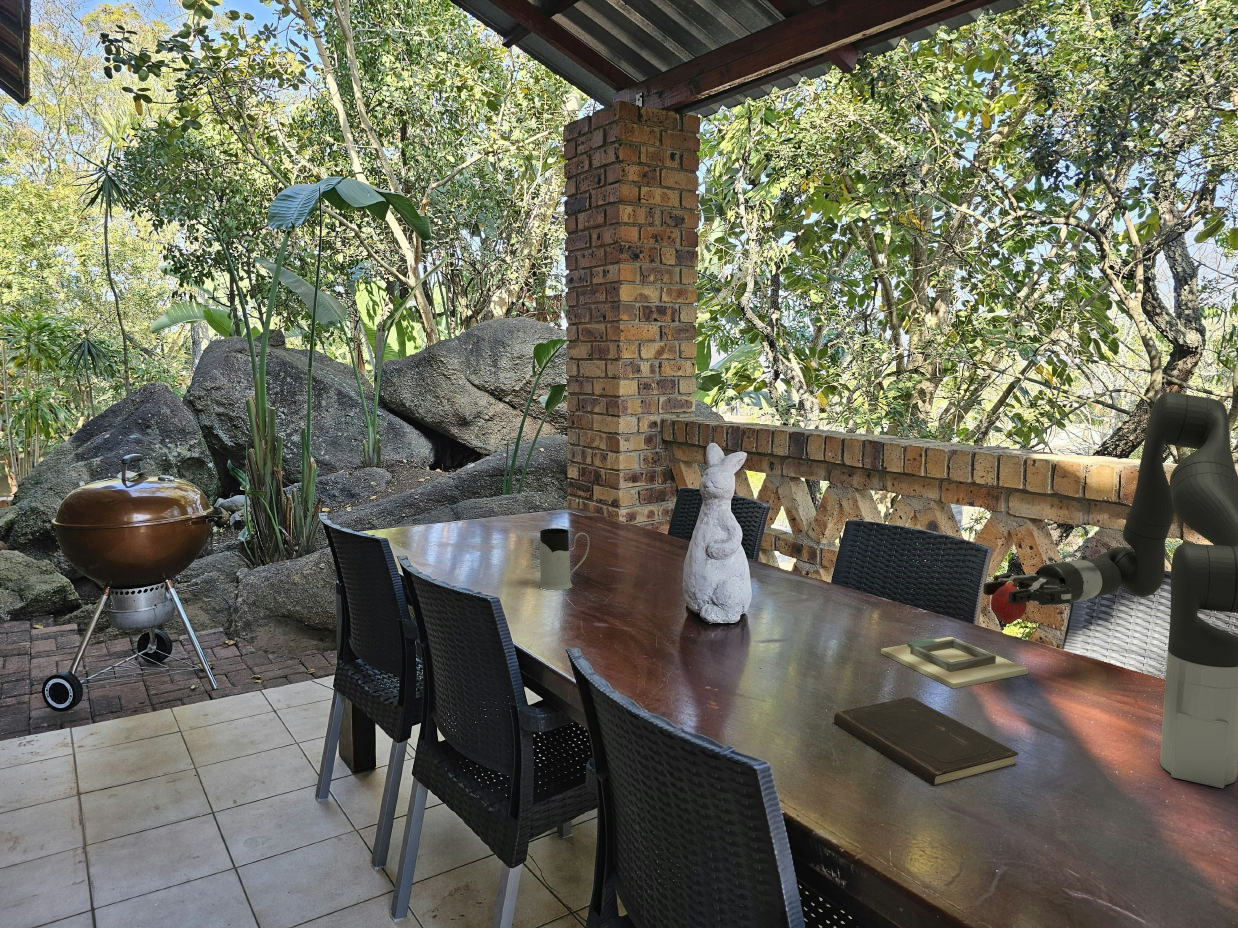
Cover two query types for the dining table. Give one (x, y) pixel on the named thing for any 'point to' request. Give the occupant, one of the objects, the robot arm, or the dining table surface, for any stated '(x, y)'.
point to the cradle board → (953, 662)
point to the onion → (1006, 604)
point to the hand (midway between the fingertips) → (997, 593)
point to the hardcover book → (925, 740)
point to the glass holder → (556, 558)
